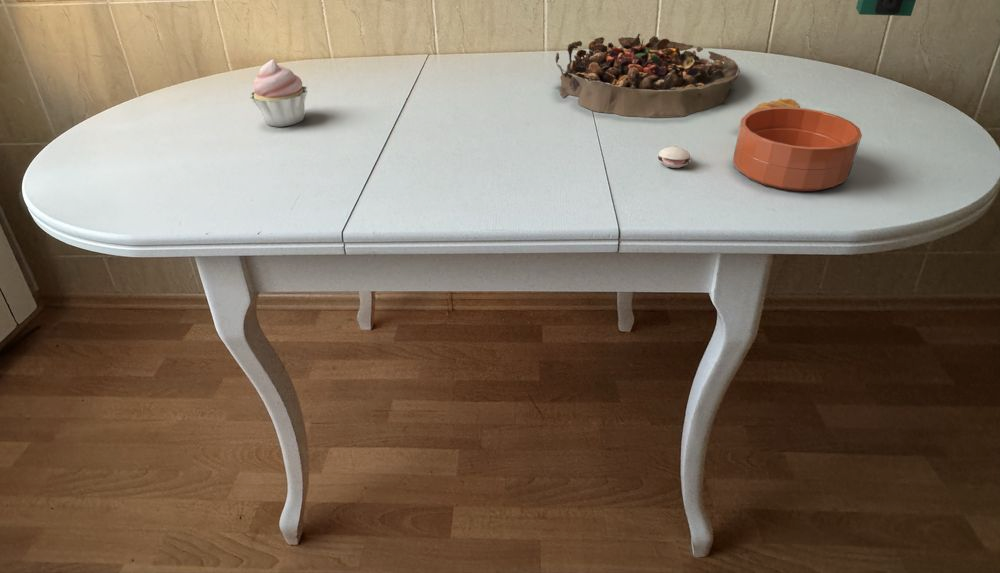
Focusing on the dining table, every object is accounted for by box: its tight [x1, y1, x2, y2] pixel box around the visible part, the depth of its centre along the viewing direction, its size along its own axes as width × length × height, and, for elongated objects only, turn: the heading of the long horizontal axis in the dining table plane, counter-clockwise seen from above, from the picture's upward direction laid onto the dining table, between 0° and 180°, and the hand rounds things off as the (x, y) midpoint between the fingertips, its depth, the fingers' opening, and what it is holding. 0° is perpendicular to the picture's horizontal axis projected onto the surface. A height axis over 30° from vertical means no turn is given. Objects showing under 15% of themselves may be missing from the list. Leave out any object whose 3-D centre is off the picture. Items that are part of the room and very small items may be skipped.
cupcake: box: [249, 59, 308, 128], centre depth 102 cm, size 9×9×10 cm
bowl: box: [733, 107, 863, 192], centre depth 82 cm, size 14×14×6 cm
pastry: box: [747, 98, 801, 113], centre depth 95 cm, size 9×7×4 cm
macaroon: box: [657, 146, 691, 169], centre depth 86 cm, size 4×5×2 cm
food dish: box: [555, 33, 741, 119], centre depth 113 cm, size 35×33×8 cm
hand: (883, 8), depth 95 cm, fingers closed on sponge, 4 cm apart
